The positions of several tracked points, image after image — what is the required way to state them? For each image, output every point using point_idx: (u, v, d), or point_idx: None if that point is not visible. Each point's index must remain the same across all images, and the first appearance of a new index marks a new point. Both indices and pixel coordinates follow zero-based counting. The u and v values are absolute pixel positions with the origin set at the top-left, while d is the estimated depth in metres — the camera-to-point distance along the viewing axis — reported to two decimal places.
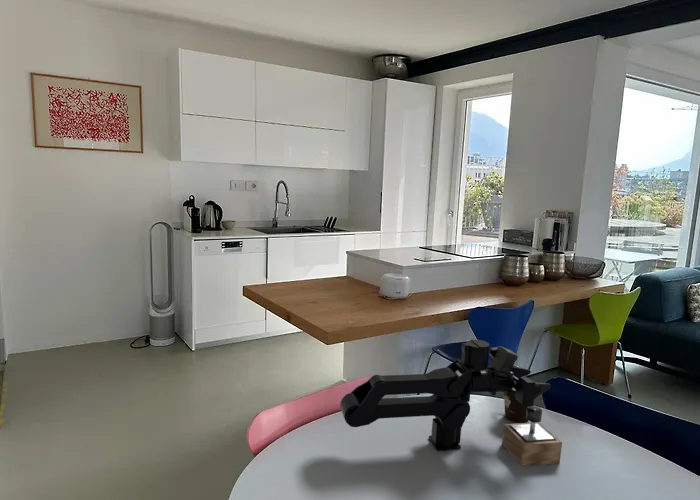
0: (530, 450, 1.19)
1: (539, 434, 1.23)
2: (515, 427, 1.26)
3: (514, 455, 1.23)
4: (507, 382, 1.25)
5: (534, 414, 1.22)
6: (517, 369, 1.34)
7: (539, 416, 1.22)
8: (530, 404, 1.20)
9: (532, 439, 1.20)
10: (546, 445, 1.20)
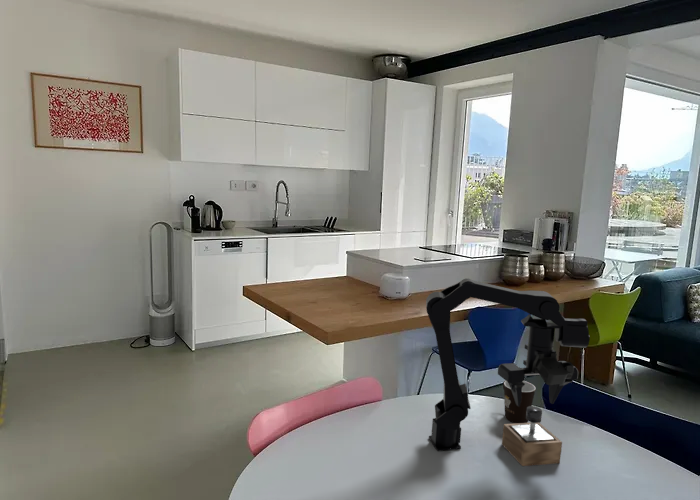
0: (530, 450, 1.19)
1: (539, 435, 1.23)
2: (515, 427, 1.26)
3: (514, 455, 1.23)
4: (530, 363, 1.20)
5: (534, 414, 1.22)
6: (555, 390, 1.23)
7: (539, 416, 1.22)
8: (498, 371, 1.22)
9: (532, 440, 1.20)
10: (546, 445, 1.20)
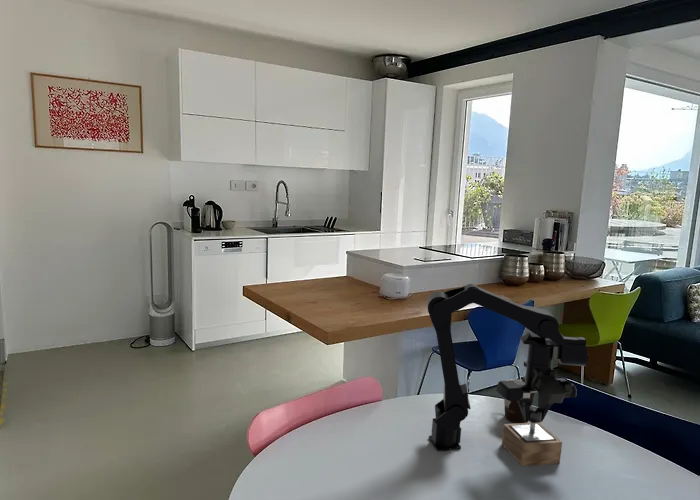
0: (530, 450, 1.19)
1: (539, 435, 1.23)
2: (515, 427, 1.26)
3: (514, 455, 1.23)
4: (528, 381, 1.21)
5: (534, 414, 1.22)
6: (544, 408, 1.23)
7: (539, 416, 1.22)
8: (497, 388, 1.23)
9: (532, 440, 1.20)
10: (546, 445, 1.20)
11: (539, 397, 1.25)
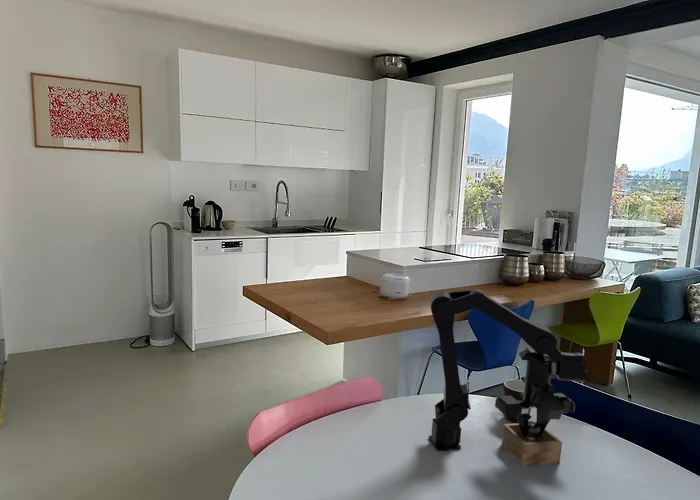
0: (530, 450, 1.19)
1: None
2: None
3: (514, 455, 1.23)
4: (527, 397, 1.22)
5: (532, 430, 1.22)
6: (542, 423, 1.24)
7: (537, 432, 1.22)
8: (495, 403, 1.23)
9: None
10: (546, 445, 1.20)
11: (537, 412, 1.26)
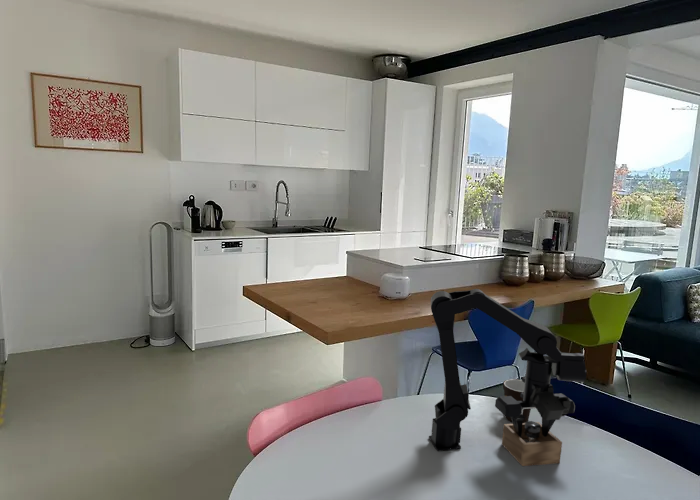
0: (530, 450, 1.19)
1: None
2: None
3: (514, 455, 1.23)
4: (527, 397, 1.22)
5: (532, 430, 1.22)
6: (548, 423, 1.24)
7: (537, 432, 1.22)
8: (495, 403, 1.23)
9: None
10: (546, 445, 1.20)
11: None
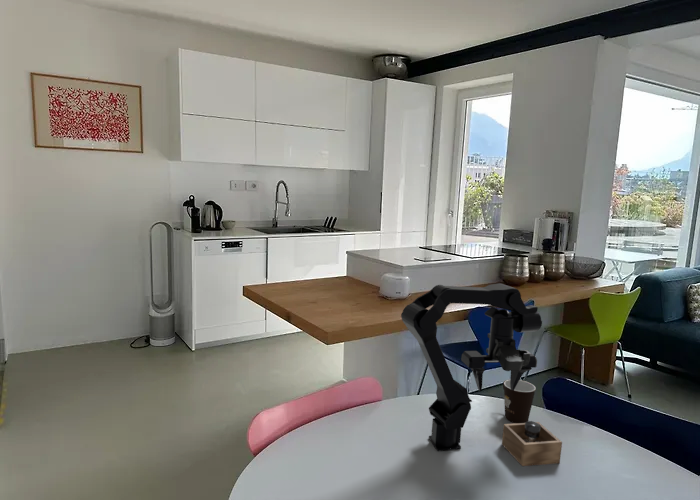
0: (530, 450, 1.19)
1: None
2: None
3: (514, 455, 1.23)
4: (491, 351, 1.28)
5: (532, 430, 1.22)
6: (515, 377, 1.31)
7: (537, 432, 1.22)
8: (461, 357, 1.30)
9: None
10: (546, 445, 1.20)
11: None
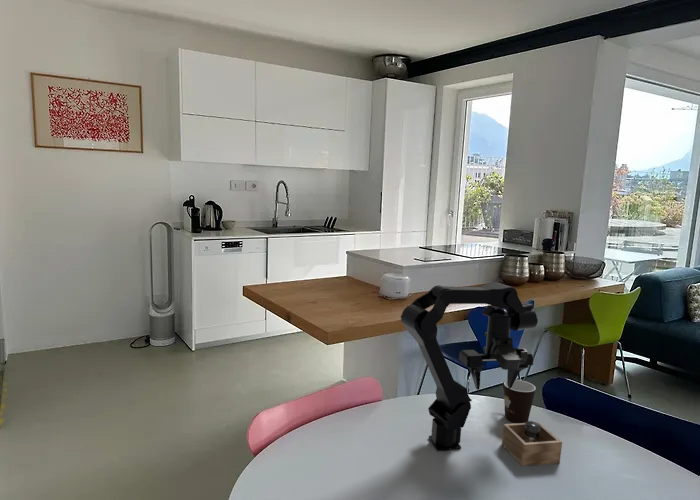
0: (530, 450, 1.19)
1: None
2: None
3: (514, 455, 1.23)
4: (488, 350, 1.29)
5: (532, 430, 1.22)
6: (512, 376, 1.31)
7: (537, 432, 1.22)
8: (459, 357, 1.31)
9: None
10: (546, 445, 1.20)
11: None
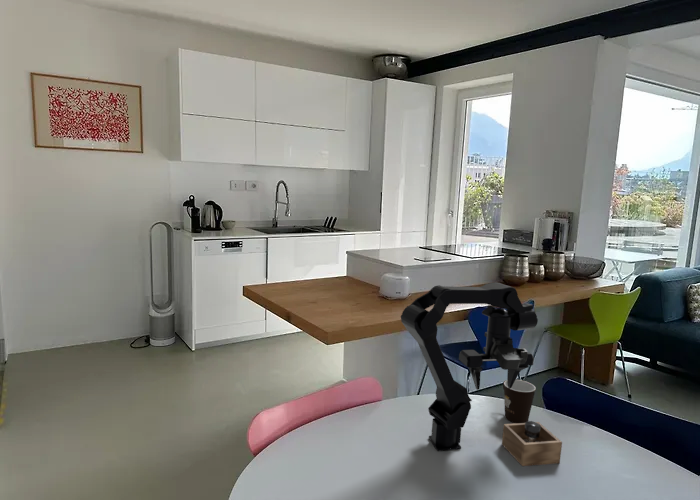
0: (530, 450, 1.19)
1: None
2: None
3: (514, 455, 1.23)
4: (488, 350, 1.29)
5: (532, 430, 1.22)
6: (512, 376, 1.31)
7: (537, 432, 1.22)
8: (459, 357, 1.31)
9: None
10: (546, 445, 1.20)
11: None
